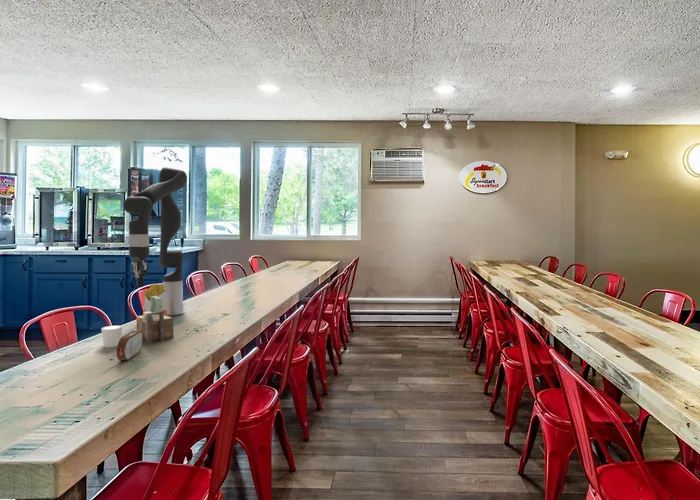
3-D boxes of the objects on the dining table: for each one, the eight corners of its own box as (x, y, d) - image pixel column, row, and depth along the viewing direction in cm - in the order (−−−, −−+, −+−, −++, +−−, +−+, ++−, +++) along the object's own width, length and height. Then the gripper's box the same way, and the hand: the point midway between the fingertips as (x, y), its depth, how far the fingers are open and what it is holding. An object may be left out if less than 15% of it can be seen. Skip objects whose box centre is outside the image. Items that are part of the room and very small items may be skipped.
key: (142, 317, 162) (142, 312, 162) (149, 316, 164) (148, 311, 164) (153, 321, 156) (153, 316, 156) (159, 320, 158) (159, 315, 157)
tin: (135, 350, 148) (135, 327, 148) (144, 349, 149) (144, 327, 148) (115, 364, 133) (115, 339, 133) (125, 364, 134) (124, 339, 133)
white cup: (126, 343, 156) (126, 325, 155) (110, 348, 149) (110, 330, 149) (113, 341, 158) (113, 324, 157) (97, 346, 151) (96, 328, 151)
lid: (136, 319, 166) (136, 297, 166) (158, 315, 173) (158, 294, 172) (148, 324, 158) (147, 301, 158) (171, 320, 165) (170, 298, 164)
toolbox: (133, 336, 166) (132, 307, 165) (158, 331, 173) (158, 304, 173) (149, 344, 155) (148, 313, 154) (175, 338, 163) (175, 309, 162)
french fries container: (158, 325, 184) (157, 286, 183) (143, 321, 190) (143, 284, 188) (167, 322, 188) (166, 285, 187) (152, 319, 194) (152, 283, 192)
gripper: (123, 244, 167) (124, 285, 168) (135, 246, 158) (136, 289, 159) (142, 244, 172) (143, 284, 173) (155, 245, 164) (156, 287, 165)
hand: (140, 286), depth 166 cm, fingers closed
